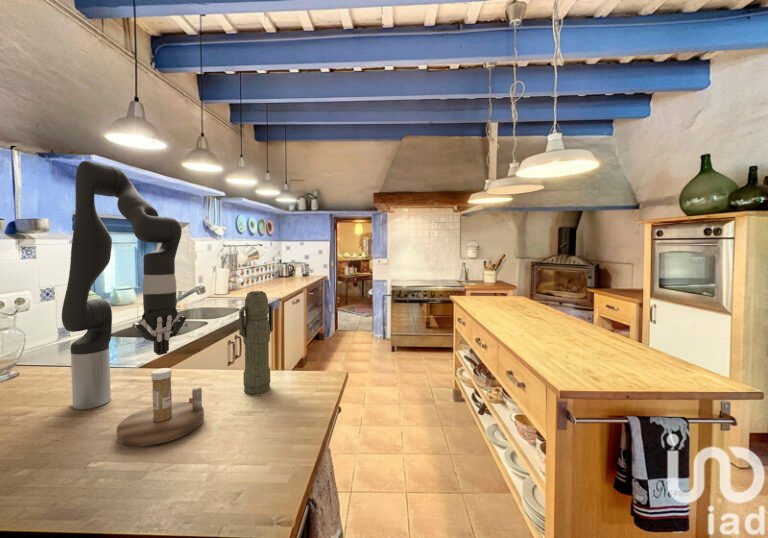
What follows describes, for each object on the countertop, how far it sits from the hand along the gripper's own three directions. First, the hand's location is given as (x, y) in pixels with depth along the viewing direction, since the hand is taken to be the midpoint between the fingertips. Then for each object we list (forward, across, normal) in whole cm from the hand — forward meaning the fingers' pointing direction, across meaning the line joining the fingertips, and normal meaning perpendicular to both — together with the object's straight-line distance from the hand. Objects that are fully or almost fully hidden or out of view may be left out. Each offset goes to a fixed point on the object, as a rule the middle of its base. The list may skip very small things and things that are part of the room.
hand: (161, 353), depth 92 cm
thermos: (+21, -31, +1) cm, 38 cm away
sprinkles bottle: (+18, 0, 0) cm, 18 cm away
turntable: (+21, 0, 0) cm, 21 cm away
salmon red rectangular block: (+21, -11, -4) cm, 24 cm away
